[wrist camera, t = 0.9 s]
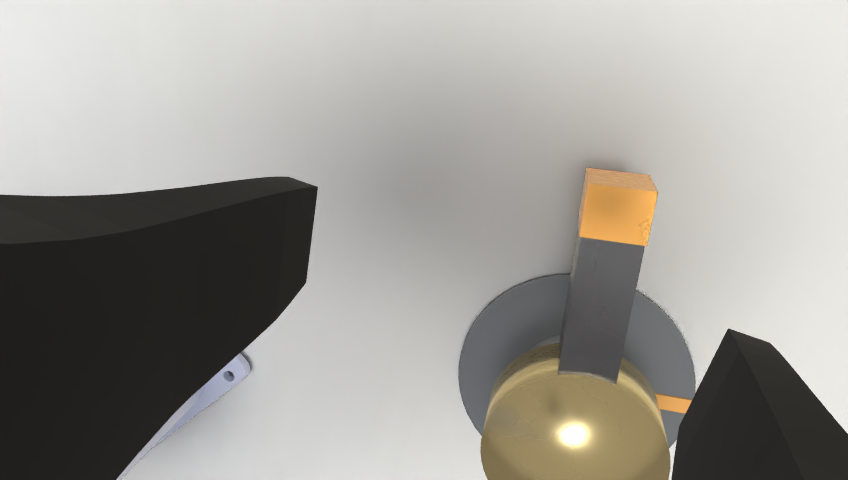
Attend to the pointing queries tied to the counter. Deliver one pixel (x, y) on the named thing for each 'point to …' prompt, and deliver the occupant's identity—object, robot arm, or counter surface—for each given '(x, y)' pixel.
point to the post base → (547, 318)
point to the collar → (586, 361)
